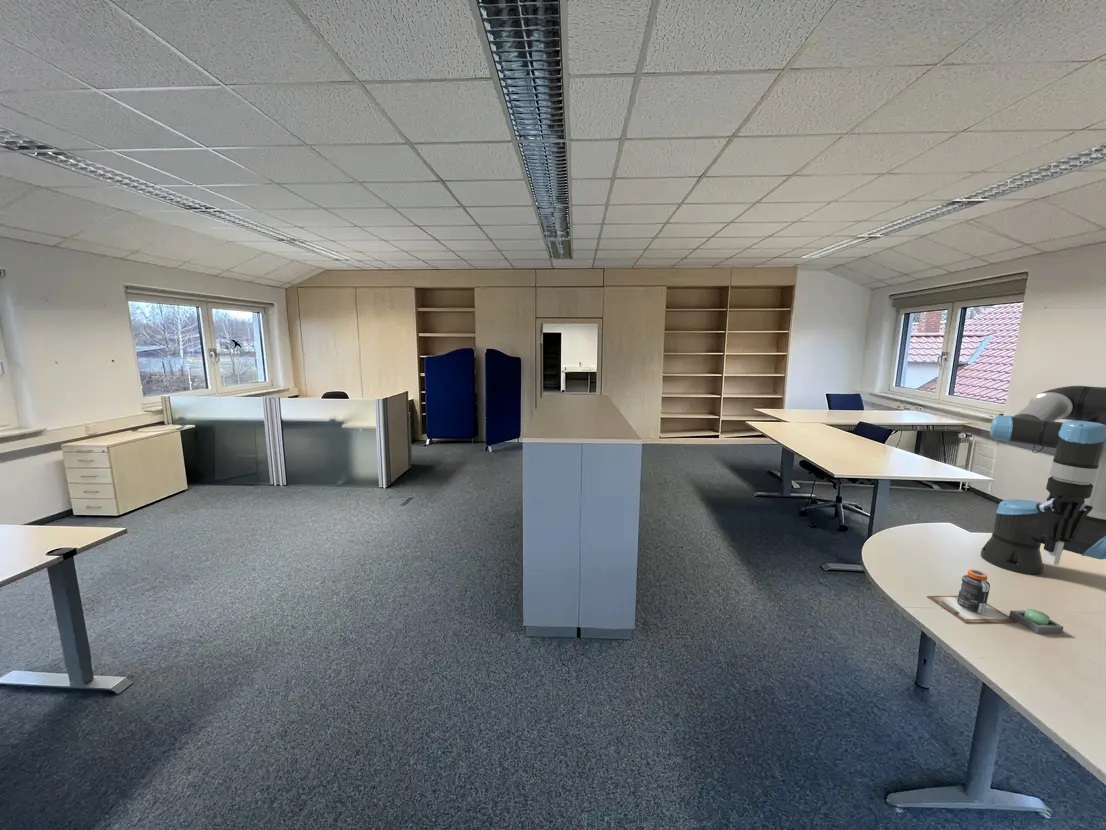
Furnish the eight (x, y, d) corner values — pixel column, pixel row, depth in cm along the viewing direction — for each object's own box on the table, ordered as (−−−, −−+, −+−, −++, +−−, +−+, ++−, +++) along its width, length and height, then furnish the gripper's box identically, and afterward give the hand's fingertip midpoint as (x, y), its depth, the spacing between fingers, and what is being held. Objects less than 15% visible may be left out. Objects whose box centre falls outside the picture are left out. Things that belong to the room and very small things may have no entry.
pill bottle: (990, 615, 120) (998, 579, 118) (965, 612, 121) (973, 576, 119) (974, 602, 126) (982, 568, 124) (951, 599, 127) (958, 565, 125)
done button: (1033, 618, 119) (1035, 608, 119) (1052, 628, 115) (1054, 619, 114) (1018, 618, 119) (1020, 609, 118) (1036, 629, 115) (1039, 619, 114)
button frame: (1032, 616, 121) (1033, 610, 120) (1061, 633, 114) (1063, 627, 113) (1008, 616, 120) (1010, 610, 120) (1037, 633, 114) (1038, 627, 113)
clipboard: (973, 596, 130) (974, 593, 130) (1016, 622, 118) (1017, 619, 118) (926, 597, 129) (927, 594, 129) (965, 623, 117) (966, 620, 117)
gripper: (1076, 475, 113) (1056, 554, 117) (1030, 475, 113) (1011, 555, 117) (1114, 484, 106) (1090, 569, 110) (1064, 485, 105) (1043, 570, 110)
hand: (1050, 561), depth 114 cm, fingers closed
